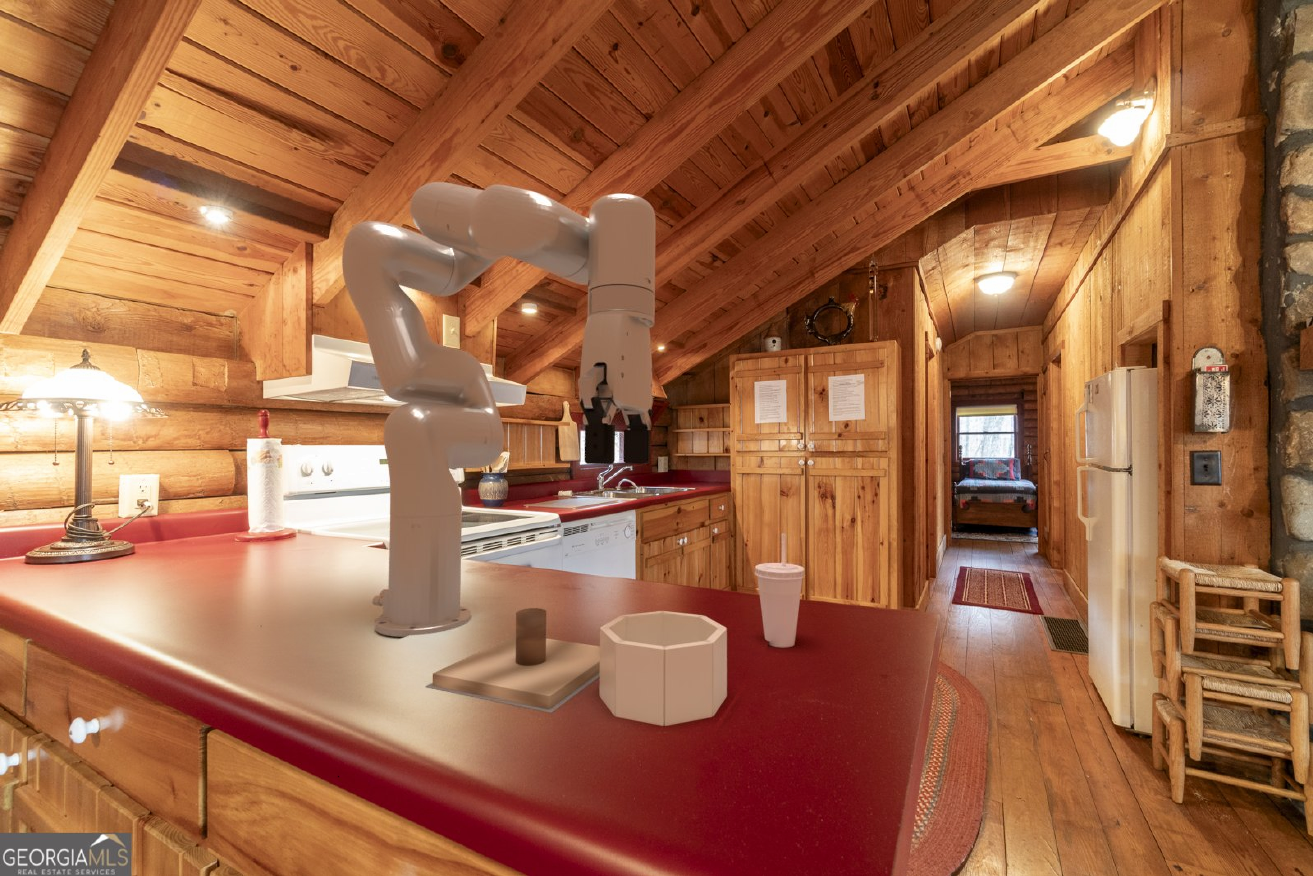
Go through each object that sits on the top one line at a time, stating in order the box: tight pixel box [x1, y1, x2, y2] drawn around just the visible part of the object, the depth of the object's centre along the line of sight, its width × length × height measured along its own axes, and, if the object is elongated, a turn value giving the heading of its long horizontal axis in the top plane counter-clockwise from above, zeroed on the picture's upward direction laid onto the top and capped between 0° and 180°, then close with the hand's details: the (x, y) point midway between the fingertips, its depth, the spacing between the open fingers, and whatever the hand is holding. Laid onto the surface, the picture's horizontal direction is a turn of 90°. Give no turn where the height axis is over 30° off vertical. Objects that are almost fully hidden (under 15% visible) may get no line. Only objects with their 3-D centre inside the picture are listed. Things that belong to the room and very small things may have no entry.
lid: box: [432, 607, 600, 709], centre depth 61 cm, size 14×14×6 cm
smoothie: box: [754, 533, 806, 648], centre depth 72 cm, size 6×6×14 cm
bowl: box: [598, 610, 728, 727], centre depth 55 cm, size 12×12×7 cm
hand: (619, 463), depth 62 cm, fingers open, 9 cm apart
